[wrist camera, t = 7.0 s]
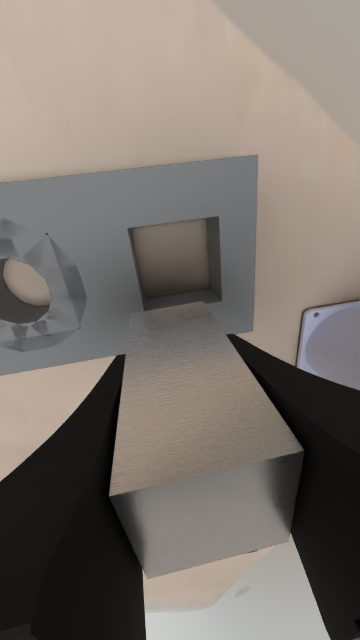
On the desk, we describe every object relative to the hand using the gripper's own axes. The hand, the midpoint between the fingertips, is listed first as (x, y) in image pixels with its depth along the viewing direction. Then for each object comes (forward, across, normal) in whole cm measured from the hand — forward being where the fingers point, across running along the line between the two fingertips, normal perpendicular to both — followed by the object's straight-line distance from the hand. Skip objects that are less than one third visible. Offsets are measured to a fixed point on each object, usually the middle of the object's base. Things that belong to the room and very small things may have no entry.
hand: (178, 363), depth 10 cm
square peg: (+2, 0, 0) cm, 3 cm away
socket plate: (+9, +4, -3) cm, 10 cm away
